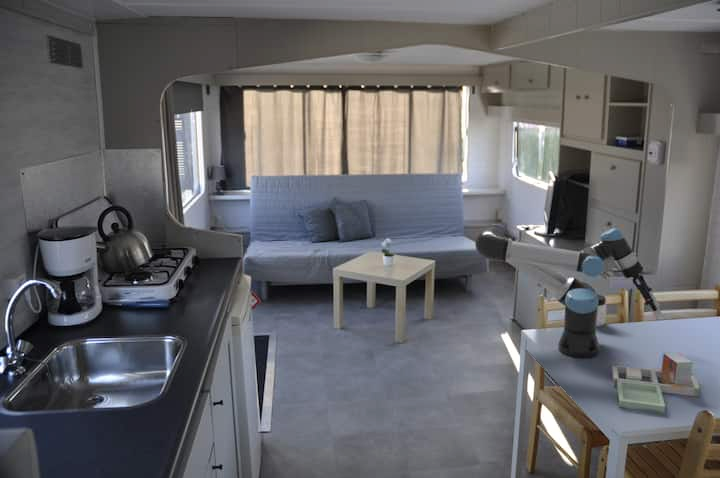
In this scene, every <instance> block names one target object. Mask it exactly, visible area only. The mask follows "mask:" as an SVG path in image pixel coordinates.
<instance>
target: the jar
mask: <svg viewBox="0 0 720 478" xmlns="http://www.w3.org/2000/svg"><path fill="white" fill-rule="evenodd" d="M596 295H597V297H598V307H597V322H596V327H597V326H599V327H602V326H604V325H605V324H606V314H607V313H606V311H607V303H606V299H607V298H606V297H605V296H604V295H601V294H597V293H596Z"/></svg>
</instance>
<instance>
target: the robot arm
mask: <svg viewBox="0 0 720 478" xmlns="http://www.w3.org/2000/svg"><path fill="white" fill-rule="evenodd" d="M599 237H600V240H599V241H598V242H596V243H593V244H592V245H590V246H588V247H586V248H584V249H581V250H580V251H576V250H570V249H564V248H558V247H550V246H545V245H539V244H533V243H526V242H519V241H518V239H517V238H516V237H515V236H513V235H512V234H511V233H509V231H508V230H507V228H505V226H502V225H500V224H497V223H493V224H490V225H486V226H485V227H484V228H483V229H482V230H481V231H480V233H479V234H478V235H477V237H476V239H475V245H474V246H475V249H476V252H477V254H479V255H480V256H481V257H483V258H484V259H487V260H490V261H498V262H500V263H501V262H504V263H508V264H509V265H511V266H512V267H514V268H516V269H517V270H518V271H520V272H521V273H523V274H524V275H526V276H528V277H529V278H530V279H531V280H533V281H534V282H536V283H538V284H539V285H541V286H542V287H543V288H545V289H546V290H547V291H549V292H551V294H553V295H554V296H555V299H556V301H557V302H559V303H561V305H563V306H564V307H565V308H564V323H563V330H562V333H561V335H560V339H559V341H558V344H557V345H558V347H557V348H558V351H559V352H560V353H561V354H564V355H566V356H569V357H573V358H580V359H590V358H595V357H597V356H598V355H599V354H600V344H599V340H598V336H597V333H596V332H597V326H596V322H597V307H598V297H597V295H598V294H597V292H596V290H595V289H594V287H593V285H590V284H589V283H587V282H585V281H580V280H579V279H577V278H576V277H574V276H572V277H571V276H570V277H567V276H566V275H565V274H563V273H562V272H561V271H559V270H557V269H561V270H567V271H573V272H578V273H583V274H585V275H586V276H588V277H590V278H591V277H592V278H595V277H598V276H600V275H601V273H602V272H603V271H604V269H605V268H604V267H605V264H604V261H605V262H606V261H607V260H609V259H610V258H612V259H613V261H614V263H615V264H616V266H617V268H618V269H619V270H620V272H621V274H622V275H623V277H624V278H625V279H630V278H632V279H631V280H632V283H633V284H634V285H635V287H636V289H637V290H638V292H640V295H641V296H642V298H643V300H644V302H645V303H644V305H645V306H648V308H649V309H650V311H651V312H652V314H653V316H654V318H655V319H656V320H657V319H658V320H659V319H660V318H663V317H664V314H663V312H662V311H661V309H660V306H661V305H660V303H659V302H658V300H657V297H656V296H655V295H654V293H653V292H652V291H653V289H652V287H650V286H649V285H648V284H647V282H646V280H645V278H644V276H643V275H642V274H641V273H642V272H643V270H644V267H643V266H642V264H641V262H640V261H639V260H638V257H637V253H636V252H633V249H632V248H631V246H630V244H629V243H628V240H626V238H625V236H624V235H623V234H622V232H621V231H620V229H619V228H616V227H613V228H611V229H607V230H606V231H604V232H603V233H602V234H600V236H599ZM596 294H597V295H596Z"/></svg>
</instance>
